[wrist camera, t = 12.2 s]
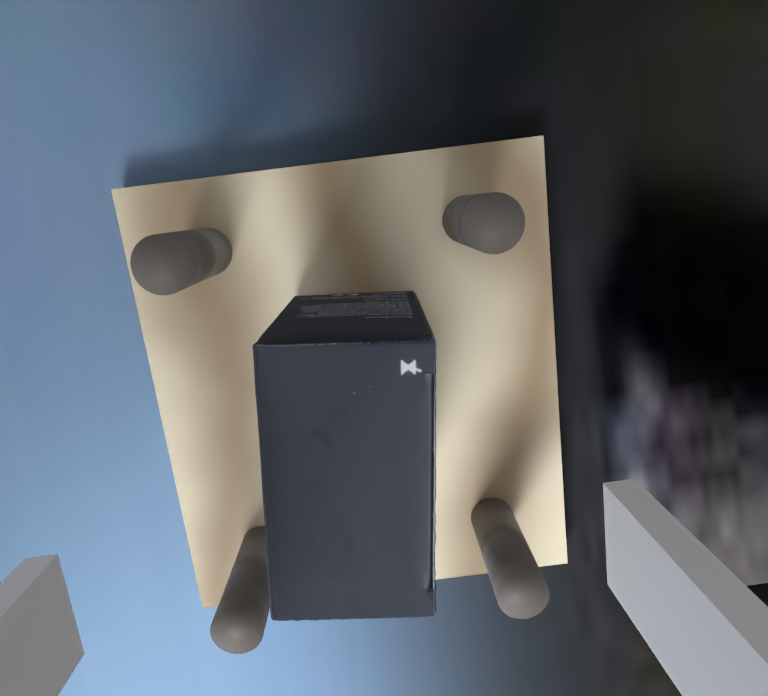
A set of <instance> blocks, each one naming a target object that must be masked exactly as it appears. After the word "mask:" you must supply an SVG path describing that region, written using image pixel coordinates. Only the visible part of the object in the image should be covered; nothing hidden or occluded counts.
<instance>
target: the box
mask: <svg viewBox="0 0 768 696" xmlns="http://www.w3.org/2000/svg"><path fill="white" fill-rule="evenodd" d="M252 348H253V360H254V377H255V379H254V382H255V395H256V405H257V417H258V432H259V445H260V460H261V477H262V492H263V507H264V522H265V536H266V552H267V567H268V583H269V601H270V612H271V618H272V620H275V621H289V620H295V621H299V620H332V619H382V618H409V617H426V616H434V615H435V613H436V596H435V595H436V584H435V576H436V572H435V544H436V532H435V525H436V514H435V502H436V338H435V337H434V334H433V332H432V329H431V327H430V325H429V323H428V320H427V319H426V316H425V314H424V311H423V309H422V306H421V304H420V302H419V299H418V298H417V295H416V293H415V292H414V291H390V292H370V293H347V294H327V295H307V296H294V297H293V298H292V300H291V301H290V302H289V303H288V305H287V306H286V307H285V308H284V309H283V311H282V312H281V313H280V314H279V315H278V317H277V318H276V319H275V320H274V321H273V322H272V324H271V325H270V326H269V327H268V328H267V329H266V330H265V331H264V333H263V334H262V335H261V336H260V338H259V340H258V341H257V342H256V343H255V344H253V347H252Z"/></svg>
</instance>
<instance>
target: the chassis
mask: <svg viewBox="0 0 768 696" xmlns="http://www.w3.org/2000/svg"><path fill="white" fill-rule="evenodd" d="M111 192H112V196H113V201H114V205H115V210H116V215H117V219H118V224H119V228H120V233H121V237H122V242H123V246H124V251H125V256H126V260H127V265H128V269H129V274H130V278H131V283H132V287H133V292H134V297H135V301H136V306H137V310H138V315H139V319H140V324H141V328H142V333H143V338H144V342H145V347H146V351H147V356H148V360H149V365H150V369H151V374H152V378H153V383H154V388H155V392H156V397H157V401H158V406H159V410H160V415H161V419H162V424H163V429H164V433H165V438H166V442H167V447H168V451H169V456H170V460H171V465H172V470H173V474H174V479H175V483H176V488H177V492H178V497H179V501H180V506H181V511H182V515H183V520H184V524H185V529H186V533H187V538H188V542H189V547H190V552H191V556H192V561H193V565H194V570H195V574H196V579H197V583H198V588H199V593H200V597H201V602H202V606H203V608H207V607H216V606H218V608H217V611H216V613H215V616H214V619H213V621H212V624H211V629H210V632H211V637H212V639H213V641H214V642H215V644H216V645H217V646H218V647H219V648H221V649H222V650H224V651H226V652H229V653H234V654H242V653H246V652H249V651H251V650H253V649H254V648H256V647H257V646H258V645H259V643H260V642H261V640H262V637H263V633H264V629H265V625H266V621H267V617H268V613H269V609H270V601H269V583H268V567H267V552H266V536H265V522H264V507H263V492H262V477H261V460H260V445H259V432H258V417H257V405H256V395H255V382H254V379H255V377H254V360H253V348H252V347H253V344H255V343H256V342H257V341H258V340H259V338H260V336H261V335H262V334H263V333H264V331H265V330H266V329H267V328H268V327H269V326H270V325H271V324H272V322H273V321H274V320H275V319H276V318H277V317H278V315H279V314H280V313H281V312H282V311H283V309H284V308H285V307H286V306H287V305H288V303H289V302H290V301H291V300H292V298H293V297H294V296H307V295H327V294H347V293H370V292H390V291H414V292H415V293H416V295H417V298H418V299H419V302H420V304H421V306H422V309H423V311H424V314H425V316H426V319H427V320H428V323H429V325H430V327H431V329H432V332H433V334H434V337H435V338H436V502H435V514H436V525H435V532H436V544H435V572H436V576H435V579H443V578H451V577H459V576H468V575H476V574H484V573H488V574H489V577H490V580H491V583H492V586H493V589H494V592H495V595H496V599H497V602H498V605H499V607H500V608H501V610H502V611H503V612H504V613H505V614H506V615H508V616H510V617H513V618H517V619H526V618H530V617H533V616H535V615H537V614H539V613H540V612H541V611H542V610H543V609H544V608H545V607H546V605H547V603H548V600H549V588H548V586H547V584H546V582H545V579H544V577H543V575H542V573H541V571H540V569H539V567H541V566H549V565H557V564H565V563H567V546H566V529H565V511H564V493H563V475H562V457H561V439H560V422H559V404H558V386H557V368H556V350H555V332H554V315H553V297H552V279H551V261H550V243H549V225H548V207H547V190H546V172H545V154H544V136H535V137H527V138H519V139H511V140H503V141H495V142H487V143H479V144H471V145H463V146H455V147H447V148H439V149H431V150H423V151H414V152H406V153H398V154H390V155H382V156H374V157H366V158H358V159H350V160H342V161H334V162H326V163H318V164H310V165H302V166H294V167H286V168H278V169H270V170H262V171H254V172H246V173H238V174H230V175H222V176H214V177H206V178H198V179H190V180H182V181H174V182H166V183H158V184H150V185H142V186H134V187H126V188H118V189H111Z"/></svg>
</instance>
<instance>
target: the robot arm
mask: <svg viewBox="0 0 768 696" xmlns="http://www.w3.org/2000/svg"><path fill="white" fill-rule="evenodd" d="M603 494H604V516H605V539H606V561H607V584H608V586H609V587H610V589H611V590H612V592H613V593H614V595H615V596H616V598H617V599H618V601H619V602H620V604H621V605H622V607H623V608H624V610H625V611H626V613H627V614H628V616H629V617H630V619H631V620H632V622H633V623H634V624H635V626H636V627H637V629H638V630H639V632H640V633H641V635H642V636H643V638H644V639H645V641H646V642H647V644H648V645H649V647H650V648H651V650H652V651H653V653H654V654H655V656H656V657H657V659H658V660H659V662H660V663H661V665H662V666H663V668H664V669H665V671H666V672H667V674H668V675H669V677H670V678H671V680H672V681H673V683H674V684H675V686H676V687H677V689H678V690H679V692H680V693H681V694H682V696H768V583H765V584H758V585H750V586H746V585H745V584H744V583H742V582H741V581H740V580H739V579H738V578H737V577H736V576H735V575H734V574H733V573H732V572H731V571H730V570H729V569H728V568H727V567H726V566H725V565H724V564H723V563H722V562H721V561H720V560H718V559H717V558H716V557H715V556H714V555H713V554H712V553H711V552H710V551H709V550H708V549H707V548H706V547H705V546H704V545H703V544H702V543H701V542H700V541H699V540H698V539H697V538H696V537H695V536H693V535H692V534H691V533H690V532H689V531H688V530H687V529H686V528H685V527H684V526H683V525H682V524H681V523H680V522H679V521H678V520H677V519H676V518H675V517H674V516H673V515H672V514H671V513H669V512H668V511H667V510H666V509H665V508H664V507H663V506H662V505H661V504H660V503H659V502H658V501H657V500H656V499H655V498H654V497H653V496H652V495H651V494H650V493H649V492H648V491H647V490H646V489H644V488H643V487H642V486H641V485H640V484H639V483H638V482H637V481H636V480H635V479H630V480H623V481H615V482H607V483H603ZM83 655H84V651H83V647H82V644H81V640H80V636H79V632H78V629H77V625H76V621H75V617H74V614H73V610H72V606H71V603H70V599H69V595H68V591H67V588H66V584H65V580H64V576H63V573H62V569H61V565H60V562H59V558H58V554H56V555H48V556H40V557H33V558H25V559H24V560H23V561H22V562H21V563H20V564H19V565H18V566H17V567H16V569H15V570H14V571H13V572H12V573H11V574H10V575H9V576H8V577H7V578H6V579H5V580H4V581H3V582H2V583H1V584H0V696H58V694H59V693H60V691H61V690H62V688H63V687H64V685H65V683H66V682H67V680H68V679H69V677H70V675H71V674H72V672H73V671H74V669H75V667H76V666H77V664H78V663H79V661H80V660H81V658H82V656H83Z"/></svg>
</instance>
